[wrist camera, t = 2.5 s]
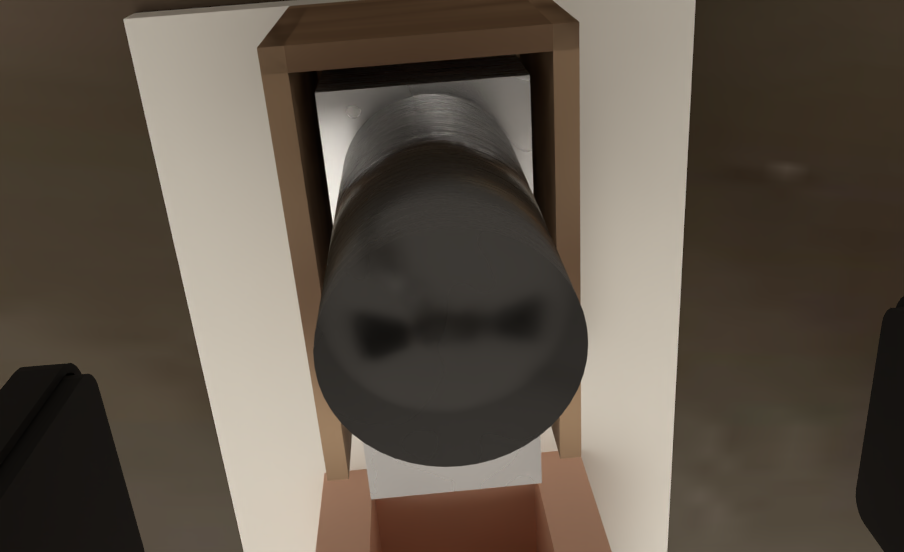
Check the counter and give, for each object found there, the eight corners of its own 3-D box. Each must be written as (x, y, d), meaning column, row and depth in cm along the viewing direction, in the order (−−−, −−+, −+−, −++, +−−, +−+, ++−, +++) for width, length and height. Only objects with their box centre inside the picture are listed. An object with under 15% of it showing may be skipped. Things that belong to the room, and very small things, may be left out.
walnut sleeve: (289, 6, 21) (256, 48, 16) (535, -14, 21) (579, 22, 16) (340, 360, 25) (327, 480, 20) (544, 341, 25) (581, 456, 20)
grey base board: (134, 12, 22) (123, 19, 21) (684, -31, 22) (697, -27, 21) (263, 600, 30) (259, 622, 29) (657, 560, 31) (665, 582, 30)
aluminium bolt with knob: (329, 51, 20) (267, 227, 10) (504, 37, 21) (612, 197, 10) (374, 402, 25) (361, 771, 15) (519, 389, 25) (605, 745, 15)
